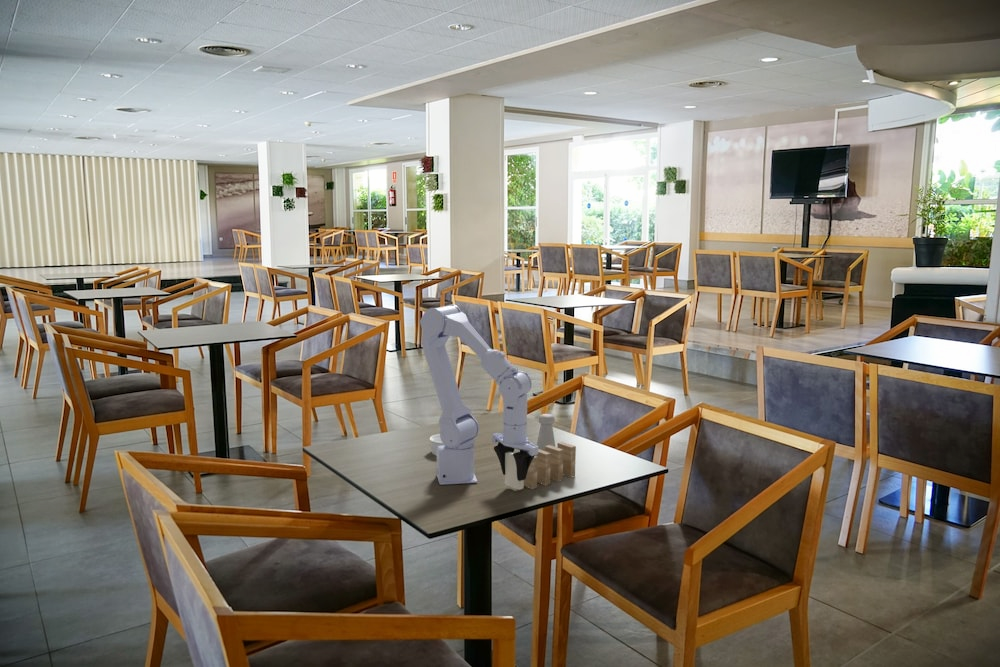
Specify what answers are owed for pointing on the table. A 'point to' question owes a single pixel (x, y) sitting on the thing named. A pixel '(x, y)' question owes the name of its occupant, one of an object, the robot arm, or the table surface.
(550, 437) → the salt shaker
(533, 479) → the domino
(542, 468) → the domino
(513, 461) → the front domino
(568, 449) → the domino
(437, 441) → the ramekin
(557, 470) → the domino
